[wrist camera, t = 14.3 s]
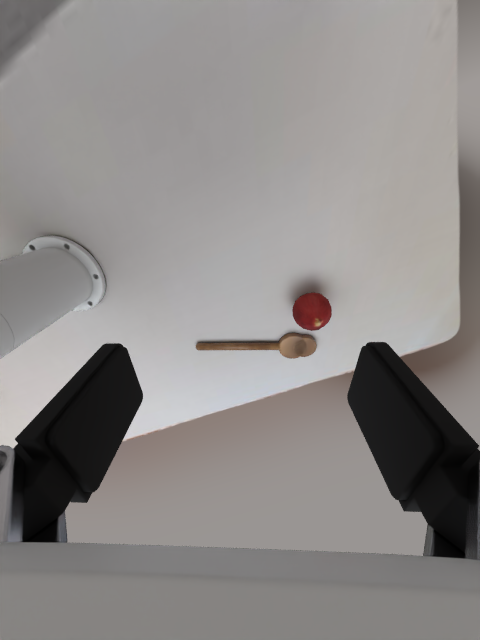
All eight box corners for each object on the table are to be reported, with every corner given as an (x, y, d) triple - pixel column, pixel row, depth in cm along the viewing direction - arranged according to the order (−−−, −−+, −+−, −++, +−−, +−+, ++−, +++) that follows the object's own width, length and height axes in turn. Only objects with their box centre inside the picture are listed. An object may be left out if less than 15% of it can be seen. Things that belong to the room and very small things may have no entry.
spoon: (198, 354, 45) (196, 359, 44) (194, 333, 43) (193, 337, 41) (313, 354, 44) (314, 359, 43) (316, 332, 41) (318, 336, 40)
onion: (323, 314, 40) (338, 340, 33) (290, 317, 40) (298, 344, 33) (324, 283, 37) (341, 304, 30) (288, 287, 37) (297, 310, 30)
